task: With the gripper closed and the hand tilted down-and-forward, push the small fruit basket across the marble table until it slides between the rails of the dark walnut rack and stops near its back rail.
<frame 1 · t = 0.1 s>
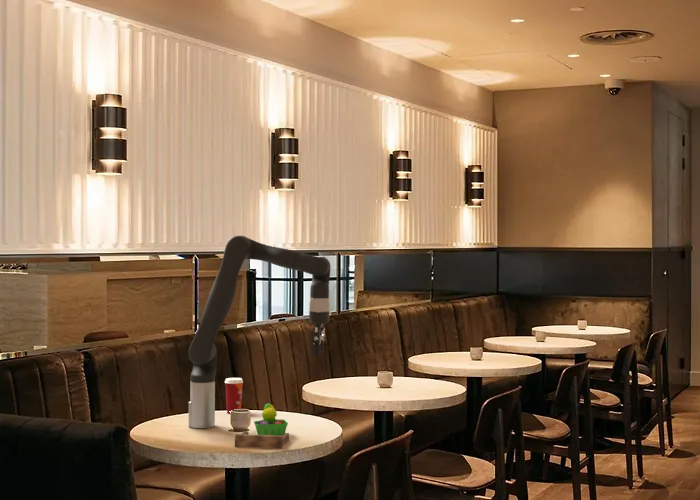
hand: (318, 353, 362), 29 cm above the table, tool pointing down, fingers open, 8 cm apart
rack: (262, 443, 340), on the table
paper cup: (233, 413, 395), on the table
fruit basket: (270, 436, 353), on the table
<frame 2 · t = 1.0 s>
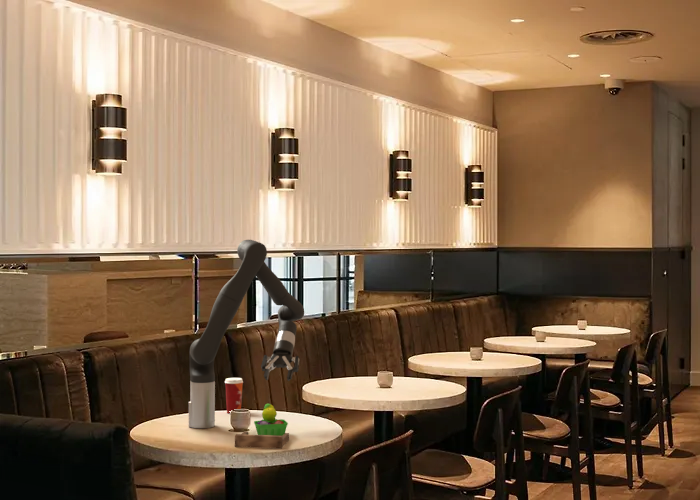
hand: (277, 379, 364), 19 cm above the table, tool tilted 45°, fingers open, 8 cm apart
nothing on the table moved.
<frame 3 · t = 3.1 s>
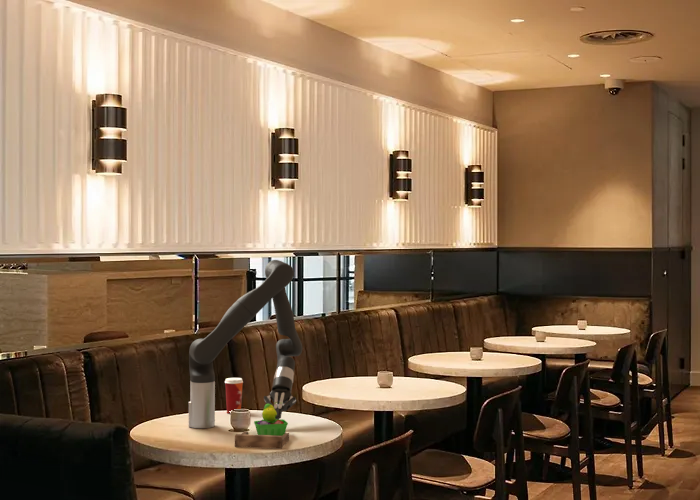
hand: (276, 418, 363), 4 cm above the table, tool tilted 45°, fingers closed
nothing on the table moved.
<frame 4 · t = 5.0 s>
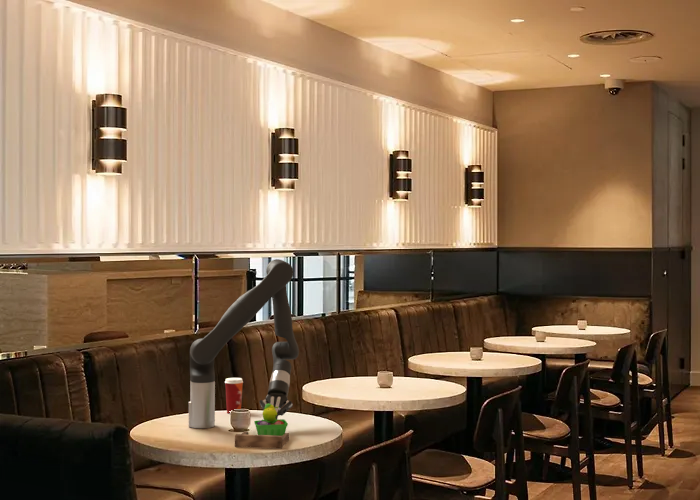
hand: (272, 423, 356), 4 cm above the table, tool tilted 45°, fingers closed
fruit basket: (270, 436, 352), on the table, touching gripper
everything else where it was.
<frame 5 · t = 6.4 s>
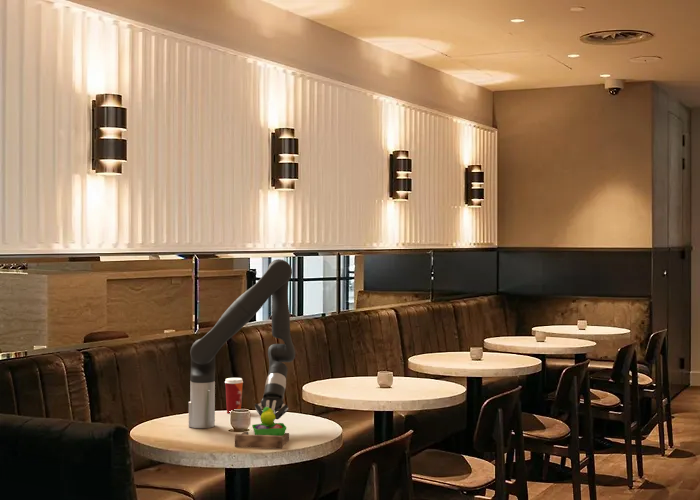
hand: (267, 427, 349), 4 cm above the table, tool tilted 45°, fingers closed
fruit basket: (268, 440, 345), on the table, touching gripper, rack
everything else where it was.
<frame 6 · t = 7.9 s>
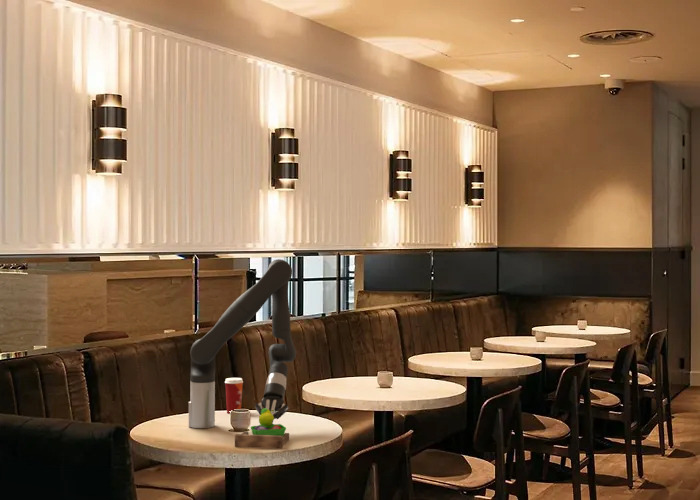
hand: (267, 427, 349), 4 cm above the table, tool tilted 45°, fingers closed
fruit basket: (267, 441, 344), on the table
everything else where it was.
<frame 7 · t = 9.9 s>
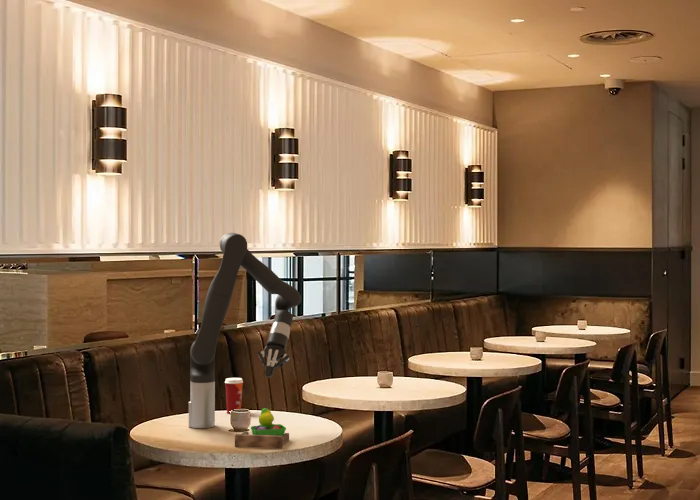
hand: (268, 376, 362), 20 cm above the table, tool tilted 35°, fingers closed
nothing on the table moved.
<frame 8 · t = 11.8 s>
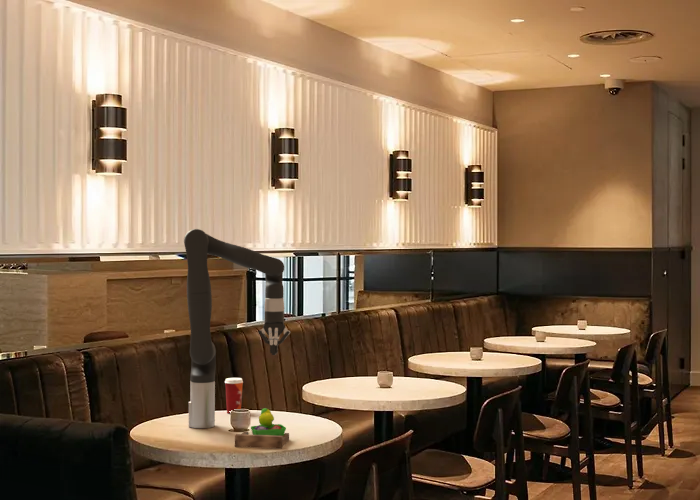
hand: (274, 354, 372), 27 cm above the table, tool pointing down, fingers closed
nothing on the table moved.
at the end: fruit basket inside the target area (2.7 cm from its centre), on the table; fruit basket tilted 0°; fruit basket moved 9.1 cm from its start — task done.
